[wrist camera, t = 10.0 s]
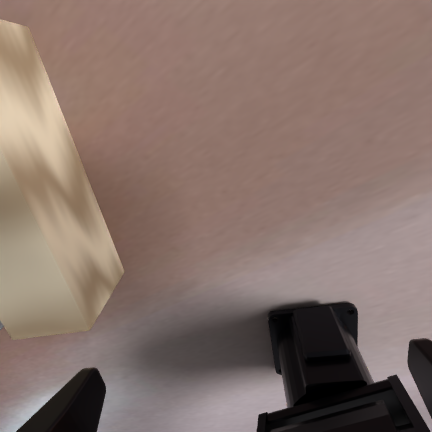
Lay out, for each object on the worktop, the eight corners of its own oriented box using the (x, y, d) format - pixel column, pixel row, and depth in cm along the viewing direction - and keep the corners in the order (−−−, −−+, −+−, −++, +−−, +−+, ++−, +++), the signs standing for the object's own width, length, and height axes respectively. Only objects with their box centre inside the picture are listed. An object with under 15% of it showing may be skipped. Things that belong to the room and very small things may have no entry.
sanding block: (125, 270, 22) (90, 330, 17) (65, 279, 23) (12, 340, 18) (30, 27, 16) (-74, -2, 11) (-48, 50, 17) (-184, 32, 11)
